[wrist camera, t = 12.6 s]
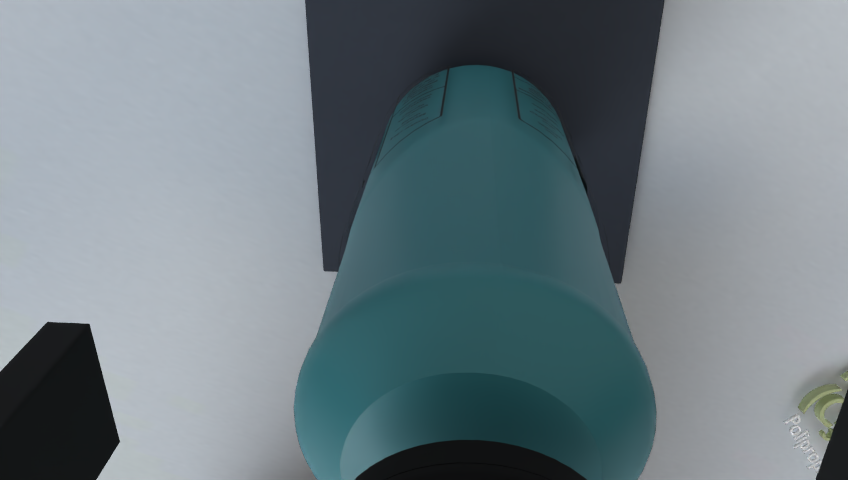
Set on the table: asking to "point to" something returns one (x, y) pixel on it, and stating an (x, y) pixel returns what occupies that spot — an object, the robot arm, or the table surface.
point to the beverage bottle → (474, 306)
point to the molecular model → (819, 413)
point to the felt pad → (490, 46)
